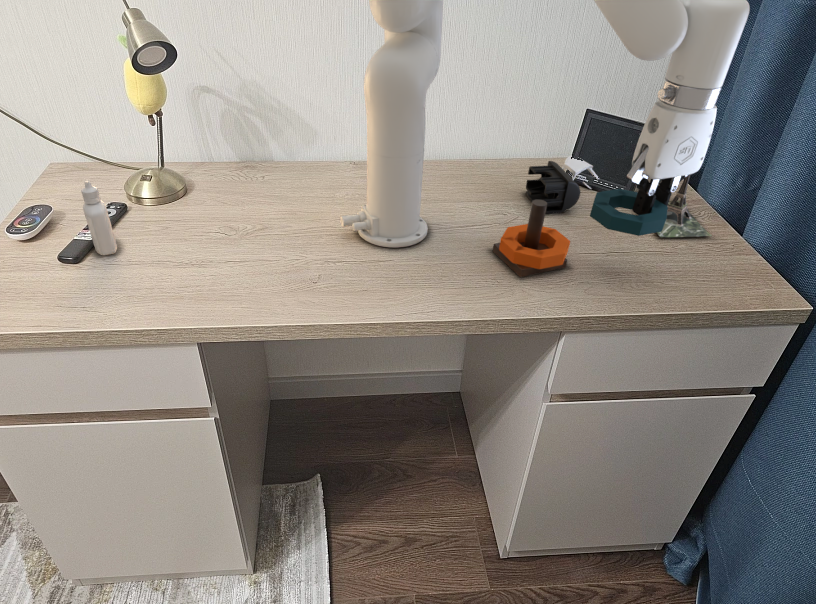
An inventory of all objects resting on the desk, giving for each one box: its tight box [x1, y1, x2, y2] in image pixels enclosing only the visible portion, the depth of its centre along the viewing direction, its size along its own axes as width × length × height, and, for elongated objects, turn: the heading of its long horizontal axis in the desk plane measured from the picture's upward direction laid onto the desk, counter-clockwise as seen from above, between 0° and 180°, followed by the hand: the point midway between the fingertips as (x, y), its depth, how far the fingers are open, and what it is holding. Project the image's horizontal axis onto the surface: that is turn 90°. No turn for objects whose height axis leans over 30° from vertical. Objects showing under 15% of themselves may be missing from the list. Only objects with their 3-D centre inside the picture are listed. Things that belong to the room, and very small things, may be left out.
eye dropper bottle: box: [81, 180, 118, 256], centre depth 100 cm, size 4×6×12 cm
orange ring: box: [499, 223, 571, 269], centre depth 103 cm, size 11×11×2 cm
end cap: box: [524, 160, 581, 215], centre depth 120 cm, size 10×7×7 cm
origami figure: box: [561, 153, 600, 190], centre depth 128 cm, size 12×8×5 cm
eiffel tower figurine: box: [656, 174, 713, 238], centre depth 114 cm, size 15×10×13 cm
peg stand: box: [492, 200, 568, 278], centre depth 101 cm, size 9×9×10 cm
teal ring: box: [589, 188, 668, 237], centre depth 95 cm, size 11×11×2 cm
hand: (647, 212), depth 97 cm, fingers closed on teal ring, 2 cm apart
